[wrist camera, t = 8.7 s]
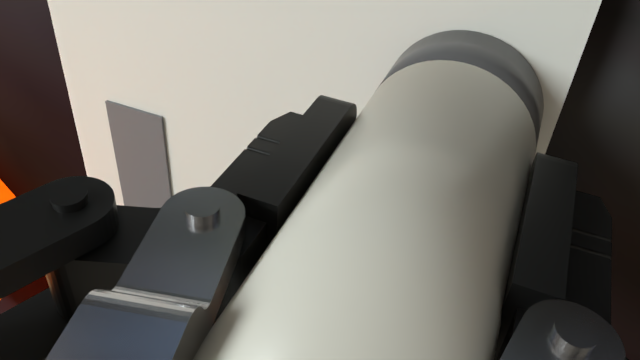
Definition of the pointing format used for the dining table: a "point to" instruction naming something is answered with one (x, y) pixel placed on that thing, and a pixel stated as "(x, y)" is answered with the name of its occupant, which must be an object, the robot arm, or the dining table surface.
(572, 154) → the dining table surface
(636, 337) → the dining table surface
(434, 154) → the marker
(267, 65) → the paper sheet
